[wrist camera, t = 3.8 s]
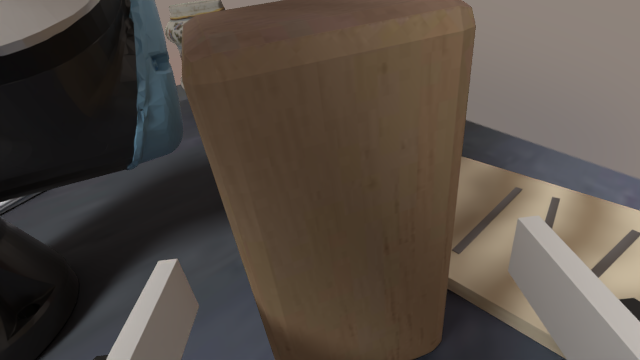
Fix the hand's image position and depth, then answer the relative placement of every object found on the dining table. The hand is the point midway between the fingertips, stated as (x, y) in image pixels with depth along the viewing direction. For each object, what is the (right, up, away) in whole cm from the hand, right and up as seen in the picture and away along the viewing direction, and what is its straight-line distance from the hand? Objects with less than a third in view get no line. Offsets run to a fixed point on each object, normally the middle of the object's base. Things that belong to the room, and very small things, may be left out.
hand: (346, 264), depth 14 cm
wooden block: (+1, -7, +11) cm, 13 cm away
